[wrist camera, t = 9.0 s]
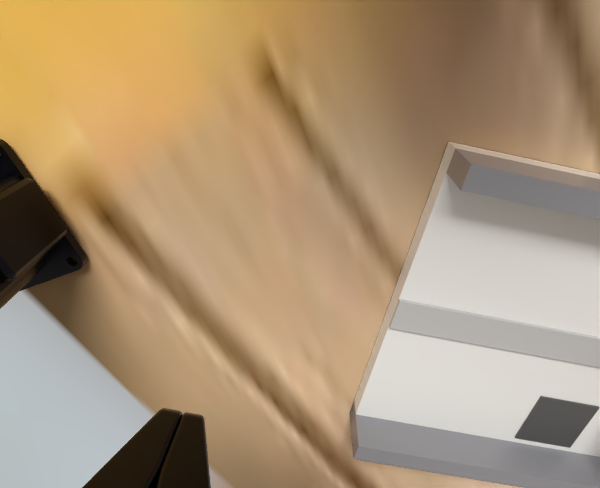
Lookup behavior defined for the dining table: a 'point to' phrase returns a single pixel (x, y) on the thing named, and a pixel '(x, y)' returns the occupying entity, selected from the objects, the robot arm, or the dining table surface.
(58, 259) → the robot arm
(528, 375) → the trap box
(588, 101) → the dining table surface
